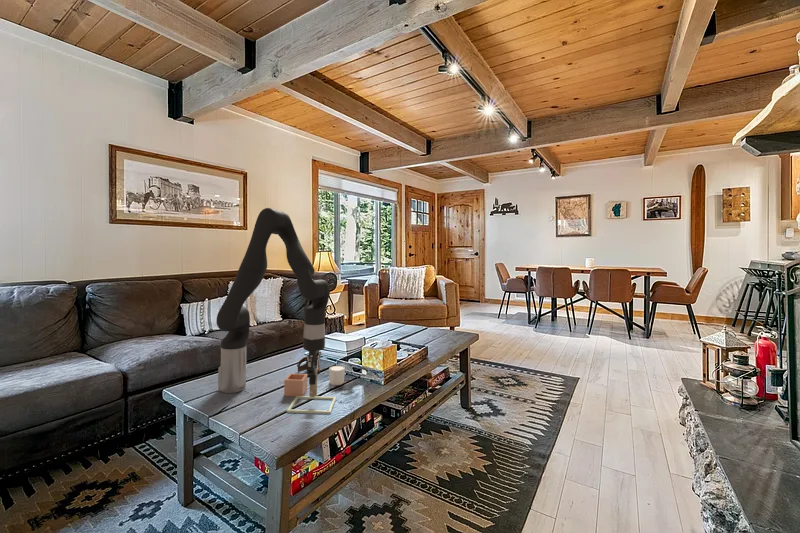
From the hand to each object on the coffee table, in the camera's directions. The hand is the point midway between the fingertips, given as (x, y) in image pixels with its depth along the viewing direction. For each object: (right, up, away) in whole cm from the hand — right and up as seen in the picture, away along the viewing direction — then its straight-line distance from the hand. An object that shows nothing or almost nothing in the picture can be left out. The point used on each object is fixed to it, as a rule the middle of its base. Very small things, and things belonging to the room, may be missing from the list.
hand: (313, 382), depth 126 cm
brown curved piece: (-11, -7, +36) cm, 39 cm away
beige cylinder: (+4, -8, +23) cm, 24 cm away
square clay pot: (-9, -8, +11) cm, 17 cm away
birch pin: (0, -5, 0) cm, 5 cm away
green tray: (0, -9, 0) cm, 9 cm away
